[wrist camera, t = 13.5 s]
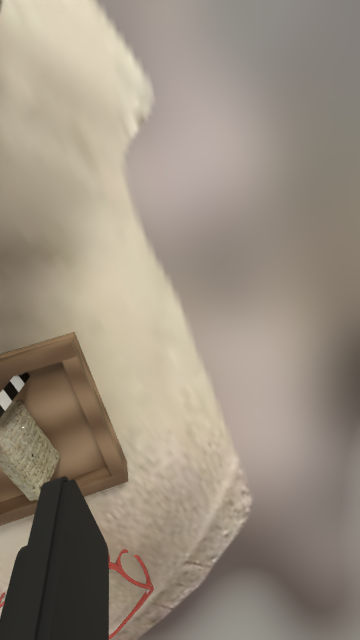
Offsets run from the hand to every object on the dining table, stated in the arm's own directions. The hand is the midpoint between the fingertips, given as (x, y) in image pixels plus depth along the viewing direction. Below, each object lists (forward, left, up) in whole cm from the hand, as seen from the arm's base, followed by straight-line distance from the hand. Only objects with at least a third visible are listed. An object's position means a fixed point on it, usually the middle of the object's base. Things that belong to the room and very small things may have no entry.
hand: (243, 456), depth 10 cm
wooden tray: (+14, -18, -28) cm, 36 cm away
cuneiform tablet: (+12, -17, -27) cm, 34 cm away
